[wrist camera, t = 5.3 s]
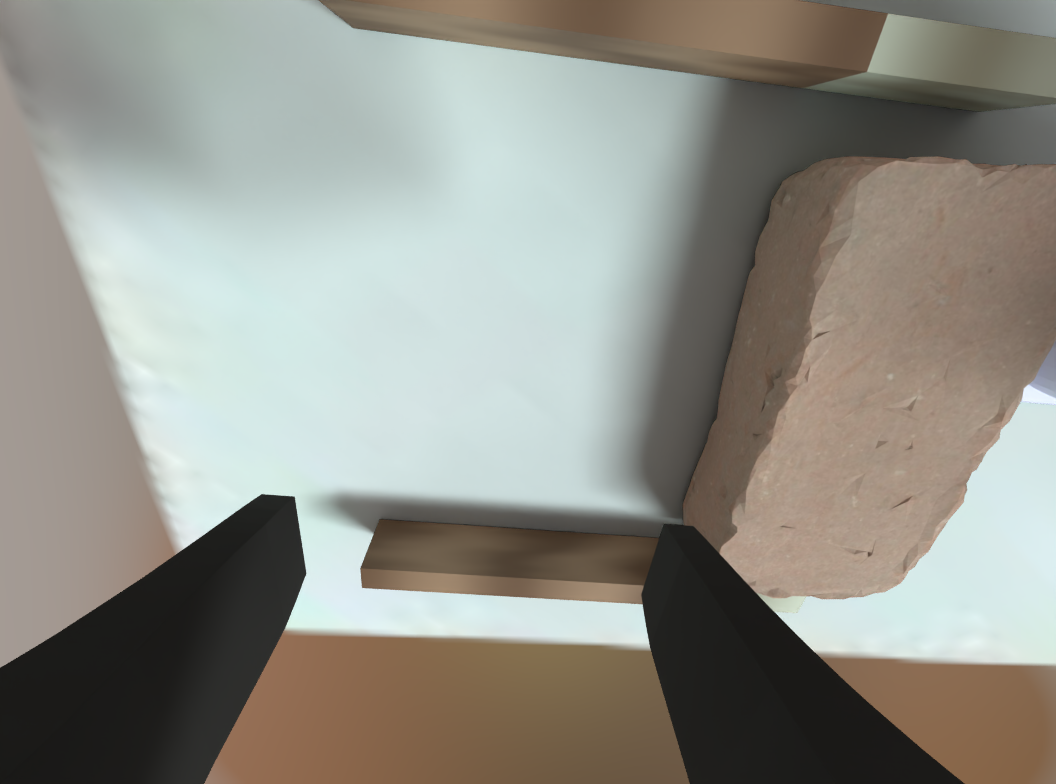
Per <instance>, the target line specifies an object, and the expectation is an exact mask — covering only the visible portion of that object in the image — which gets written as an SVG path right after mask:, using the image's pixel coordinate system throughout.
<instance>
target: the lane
mask: <svg viewBox="0 0 1056 784" xmlns="http://www.w3.org/2000/svg"><path fill="white" fill-rule="evenodd" d="M319 1H320V2H321V3H322V4H324V5H325V6H326V7H327V8H329V9H330V10H331V11H332V12H334V13H335V14H336V15H337V16H339V17H340V18H341V19H343V20H344V21H345V22H346V23H348V24H349V25H350V26H351V27H353V28H356V29H364V30H371V31H379V32H386V33H394V34H401V35H409V36H416V37H424V38H431V39H439V40H446V41H454V42H461V43H468V44H476V45H483V46H491V47H498V48H506V49H513V50H521V51H528V52H536V53H543V54H551V55H558V56H566V57H573V58H580V59H588V60H595V61H603V62H610V63H618V64H625V65H633V66H640V67H648V68H655V69H663V70H670V71H678V72H685V73H693V74H700V75H707V76H715V77H722V78H730V79H737V80H745V81H752V82H760V83H767V84H775V85H782V86H790V87H797V88H805V89H812V90H820V91H827V92H834V93H842V94H849V95H857V96H864V97H872V98H879V99H887V100H894V101H902V102H909V103H917V104H924V105H932V106H939V107H946V108H954V109H961V110H969V111H976V112H982V111H992V110H1001V109H1011V108H1020V107H1030V106H1039V105H1049V104H1056V38H1052V37H1045V36H1039V35H1032V34H1025V33H1018V32H1011V31H1004V30H998V29H991V28H984V27H977V26H970V25H963V24H957V23H950V22H943V21H936V20H929V19H922V18H916V17H909V16H902V15H895V14H888V13H881V12H875V11H868V10H861V9H854V8H847V7H841V6H834V5H827V4H820V3H813V2H806V1H800V0H319ZM658 540H659V538H649V537H635V536H620V535H605V534H590V533H575V532H561V531H546V530H531V529H516V528H501V527H487V526H472V525H457V524H442V523H427V522H413V521H398V520H383V519H379V522H378V525H377V527H376V530H375V532H374V535H373V537H372V540H371V543H370V545H369V548H368V550H367V553H366V555H365V558H364V561H363V563H362V566H361V568H360V569H361V581H362V588H373V589H390V590H407V591H424V592H442V593H459V594H476V595H493V596H510V597H528V598H545V599H562V600H579V601H597V602H614V603H631V604H643V603H642V597H641V593H642V590H643V587H644V584H645V581H646V578H647V575H648V572H649V568H650V565H651V562H652V559H653V556H654V553H655V550H656V547H657V543H658ZM757 594H758V595H759V597H760V598H761V599H762V600H763V601H764V602H765V603H766V604H767V605H768V606H769V607H770V608H771V609H772V610H773V611H774V612H786V613H797V612H798V611H799V609H800V607H801V605H802V603H803V602H804V600H805V598H806V596H791V597H788V598H771V597H768V596H765V595H762V594H759V593H757Z"/></svg>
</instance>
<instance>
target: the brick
mask: <svg viewBox="0 0 1056 784" xmlns="http://www.w3.org/2000/svg"><path fill="white" fill-rule="evenodd" d="M1055 340H1056V164H1037V165H1027V164H1025V165H1021V166H1020V165H1016V164H1011V165H1006V166H1001V165H987V164H972V163H970V162H969V161H968V160H967V159H958V160H957V159H951V158H945V157H939V156H936V157H909V158H907V159H898V158H884V157H857V156H846V157H838V158H829V159H825V160H822V161H819V162H816V163H814V164H812V165H811V166H809V167H808V168H807V169H805V170H804V171H800V172H796V173H795V174H793V175H791V176H789V177H788V178H787V179H785V180H784V181H783V182H782V183H781V186H780V188H779V189H778V191H777V192H776V194H775V196H774V197H773V199H772V201H771V207H770V213H769V218H768V221H767V223H766V225H765V227H764V229H763V231H762V233H761V235H760V237H759V241H758V244H757V247H756V250H755V266H754V267H753V269H752V270H751V271H750V274H749V276H748V280H747V284H746V288H745V292H744V296H743V300H742V304H741V308H740V312H739V315H738V319H737V324H736V329H735V334H734V338H733V342H732V346H731V349H730V353H729V356H728V360H727V363H726V368H725V372H724V376H723V381H722V386H721V391H720V395H719V400H718V413H717V419H716V420H715V421H714V423H713V424H712V427H711V429H710V431H709V435H708V440H707V443H706V444H705V447H704V449H703V452H702V455H701V457H700V459H699V462H698V464H697V466H696V469H695V471H694V473H693V476H692V480H691V483H690V485H689V488H688V491H687V493H686V496H685V499H684V502H683V523H684V525H687V526H694V527H695V528H696V529H697V530H698V531H699V532H700V533H701V534H702V535H703V536H704V537H705V538H706V540H707V541H708V542H709V543H710V544H711V545H712V546H713V547H714V548H715V549H716V550H717V551H718V552H719V554H720V555H721V556H722V557H723V558H724V559H725V560H726V561H727V562H728V563H729V564H730V565H731V567H732V568H733V569H734V570H735V571H736V572H737V573H738V574H739V575H740V576H741V577H742V578H743V579H744V581H745V582H746V583H747V584H748V585H749V586H750V587H751V588H752V589H753V590H754V591H755V592H756V593H759V594H762V595H765V596H768V597H771V598H788V597H791V596H813V597H817V598H820V599H846V598H849V597H864V596H867V595H870V594H873V593H881V592H886V591H887V590H889V589H891V588H893V587H895V586H897V585H898V584H900V583H901V582H902V581H903V580H904V578H905V577H906V575H907V573H908V571H909V570H911V569H912V568H914V567H915V565H916V564H917V562H918V560H919V559H920V558H921V557H922V556H924V555H925V554H926V553H927V552H928V551H929V550H930V548H931V546H932V544H933V543H934V541H935V540H936V538H937V536H938V535H939V533H940V532H941V531H942V529H943V528H944V526H945V525H946V523H947V522H948V520H949V519H950V518H951V516H952V515H953V514H954V513H955V512H956V511H957V509H958V508H959V507H960V506H961V505H962V503H963V502H964V496H965V493H966V491H967V486H966V483H967V481H968V480H969V478H970V475H971V473H972V472H973V471H975V470H976V469H977V468H978V466H979V464H980V463H981V462H982V459H983V457H984V456H985V454H986V452H987V451H988V450H989V449H990V448H991V447H992V446H993V445H994V444H995V443H996V442H997V440H998V439H999V438H1000V431H1001V429H1002V428H1003V427H1004V426H1005V425H1006V424H1007V423H1008V422H1009V421H1010V419H1011V418H1012V416H1013V414H1014V413H1015V411H1016V409H1017V407H1018V405H1019V404H1020V402H1021V400H1022V398H1023V391H1024V388H1025V387H1026V386H1027V385H1029V384H1030V383H1031V382H1032V381H1033V380H1034V379H1035V377H1036V375H1037V373H1038V371H1039V369H1040V367H1041V365H1042V363H1043V362H1044V360H1045V358H1046V357H1047V355H1048V353H1049V351H1050V350H1051V348H1052V346H1053V344H1054V342H1055Z"/></svg>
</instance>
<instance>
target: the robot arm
mask: <svg viewBox="0 0 1056 784" xmlns="http://www.w3.org/2000/svg"><path fill="white" fill-rule="evenodd" d="M1021 402H1029V403H1040V404H1051V405H1056V340H1055V342H1054V344H1053V346H1052V348H1051V350H1050V351H1049V353H1048V355H1047V357H1046V358H1045V360H1044V362H1043V363H1042V365H1041V367H1040V369H1039V371H1038V373H1037V375H1036V377H1035V379H1034V380H1033V381H1032V382H1031V383H1030V384H1029V385H1027V386H1026V387H1025V388H1024V391H1023V398H1022V400H1021ZM305 576H306V568H305V562H304V555H303V549H302V542H301V536H300V529H299V523H298V516H297V509H296V503H295V497H292V496H278V495H265V494H261V495H260V496H258V497H257V498H255V499H254V500H252V501H251V502H250V503H248V504H247V505H245V506H244V507H242V508H241V509H240V510H238V511H237V512H235V513H234V514H232V515H231V516H230V517H228V518H227V519H225V520H224V521H223V522H221V523H220V524H218V525H217V526H216V527H214V528H213V529H212V530H210V531H209V532H207V533H206V534H205V535H203V536H202V537H200V538H199V539H198V540H196V541H195V542H193V543H192V544H190V545H189V546H188V547H186V548H185V549H183V550H182V551H180V552H179V553H178V554H176V555H175V556H173V557H172V558H171V559H169V560H168V561H166V562H165V563H163V564H162V565H160V566H159V567H158V568H156V569H155V570H153V571H152V572H150V573H149V574H148V575H146V576H145V577H143V578H142V579H140V580H139V581H137V582H136V583H134V584H133V585H131V586H129V587H128V588H126V589H125V590H123V591H122V592H120V593H119V594H117V595H116V596H114V597H113V598H111V599H110V600H108V601H107V602H105V603H103V604H102V605H100V606H99V607H97V608H96V609H94V610H93V611H92V612H90V613H88V614H87V615H85V616H83V617H82V618H80V619H79V620H77V621H76V622H74V623H73V624H71V625H70V626H68V627H67V628H65V629H63V630H62V631H61V632H59V633H57V634H56V635H54V636H52V637H51V638H49V639H47V640H46V641H44V642H43V643H41V644H39V645H38V646H36V647H35V648H33V649H31V650H29V651H28V652H26V653H25V654H23V655H21V656H19V657H18V658H16V659H14V660H13V661H11V662H10V663H8V664H6V665H4V666H2V667H1V668H0V784H204V783H205V781H206V778H207V777H208V775H209V772H210V770H211V768H212V766H213V764H214V762H215V760H216V759H217V757H218V755H219V753H220V751H221V749H222V747H223V745H224V743H225V741H226V740H227V738H228V736H229V734H230V732H231V730H232V728H233V726H234V724H235V722H236V721H237V719H238V717H239V715H240V713H241V711H242V709H243V707H244V706H245V704H246V702H247V700H248V698H249V696H250V694H251V692H252V690H253V689H254V687H255V685H256V683H257V681H258V679H259V677H260V675H261V673H262V672H263V670H264V668H265V666H266V664H267V662H268V660H269V658H270V656H271V654H272V652H273V650H274V648H275V647H276V645H277V642H278V641H279V639H280V637H281V635H282V633H283V631H284V629H285V627H286V625H287V622H288V620H289V617H290V615H291V612H292V610H293V607H294V605H295V602H296V600H297V597H298V594H299V592H300V589H301V586H302V584H303V581H304V578H305ZM641 597H642V603H643V609H644V616H645V622H646V627H647V633H648V638H649V644H650V648H651V652H652V656H653V659H654V663H655V666H656V670H657V673H658V676H659V680H660V683H661V687H662V690H663V694H664V697H665V700H666V704H667V707H668V711H669V714H670V717H671V721H672V724H673V728H674V731H675V734H676V738H677V741H678V745H679V748H680V751H681V755H682V758H683V761H684V765H685V769H686V772H687V775H688V778H689V782H690V784H964V783H963V782H962V781H961V780H959V779H958V778H957V777H955V776H954V775H953V774H952V773H950V772H949V771H948V770H947V769H946V768H944V767H943V766H942V765H941V764H940V763H938V762H937V761H936V760H935V759H933V758H932V757H931V756H930V755H929V754H927V753H926V752H925V751H924V750H922V749H921V748H920V747H919V746H918V745H917V744H915V743H914V742H913V741H912V740H911V739H910V738H909V737H907V736H906V735H905V734H904V733H903V732H901V730H899V729H898V728H897V727H896V726H895V725H894V724H892V723H891V722H890V721H889V720H888V719H887V718H886V717H884V716H883V715H882V714H881V713H880V712H879V711H877V710H876V709H875V708H874V707H873V706H872V705H870V704H869V703H868V702H867V701H866V700H865V699H864V698H863V697H862V696H861V695H859V694H858V693H857V692H856V691H855V690H854V689H853V688H852V687H851V686H849V685H848V684H847V683H846V682H845V681H844V680H843V679H842V678H841V677H840V676H839V675H838V674H837V673H836V672H835V671H834V670H833V669H832V668H830V667H829V666H828V665H827V664H826V663H825V662H824V661H823V660H822V659H821V658H820V657H819V656H818V655H817V654H816V653H815V652H814V651H813V650H812V649H811V648H810V647H809V646H808V645H807V644H806V643H805V642H804V641H803V640H801V639H800V638H799V637H798V636H797V635H796V634H795V633H794V632H793V631H792V630H791V629H790V628H789V627H788V626H787V624H786V623H785V622H784V621H783V620H782V619H781V618H780V617H779V616H778V615H777V614H776V613H775V612H774V611H773V610H772V609H771V608H770V607H769V606H768V605H767V604H766V603H765V602H764V601H763V600H762V599H761V598H760V597H759V595H758V594H757V593H756V592H755V591H754V590H753V589H752V588H751V587H750V586H749V585H748V584H747V583H746V582H745V581H744V579H743V578H742V577H741V576H740V575H739V574H738V573H737V572H736V571H735V570H734V569H733V568H732V567H731V565H730V564H729V563H728V562H727V561H726V560H725V559H724V558H723V557H722V556H721V555H720V554H719V552H718V551H717V550H716V549H715V548H714V547H713V546H712V545H711V544H710V543H709V542H708V541H707V540H706V538H705V537H704V536H703V535H702V534H701V533H700V532H699V531H698V530H697V529H696V528H695V527H694V526H687V525H673V524H664V525H663V528H662V531H661V534H660V537H659V540H658V543H657V547H656V550H655V553H654V556H653V559H652V562H651V565H650V568H649V572H648V575H647V578H646V581H645V584H644V587H643V590H642V593H641Z"/></svg>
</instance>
